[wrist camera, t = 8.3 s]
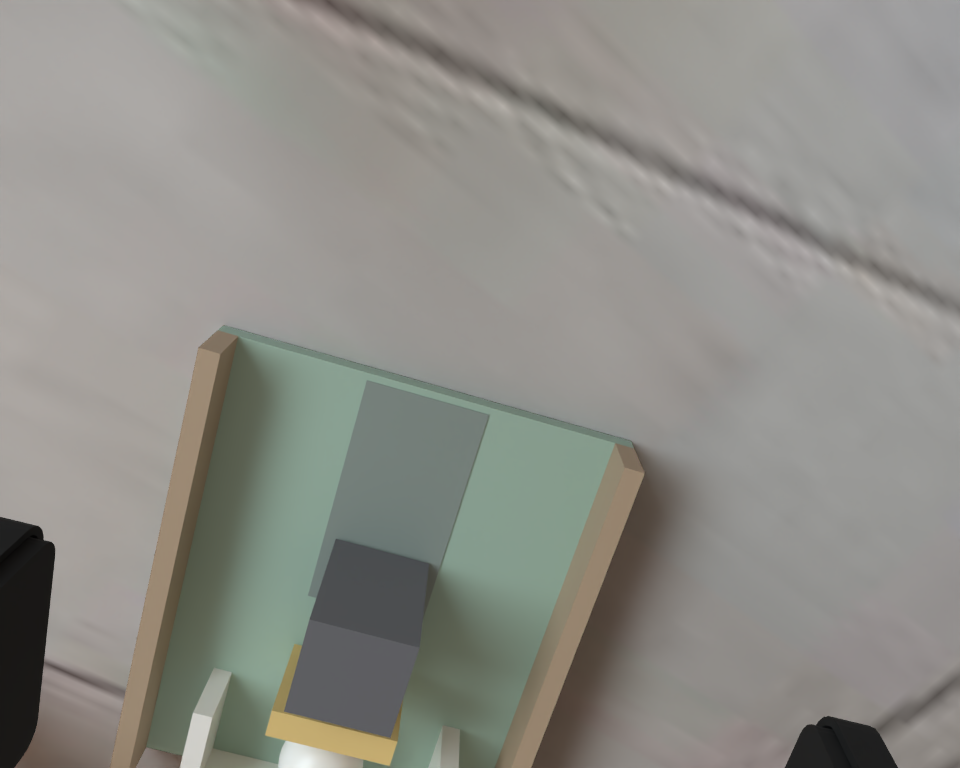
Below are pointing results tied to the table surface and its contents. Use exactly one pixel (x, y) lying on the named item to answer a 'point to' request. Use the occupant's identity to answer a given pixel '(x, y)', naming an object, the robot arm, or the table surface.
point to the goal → (209, 764)
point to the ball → (314, 758)
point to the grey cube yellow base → (354, 656)
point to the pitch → (375, 524)
